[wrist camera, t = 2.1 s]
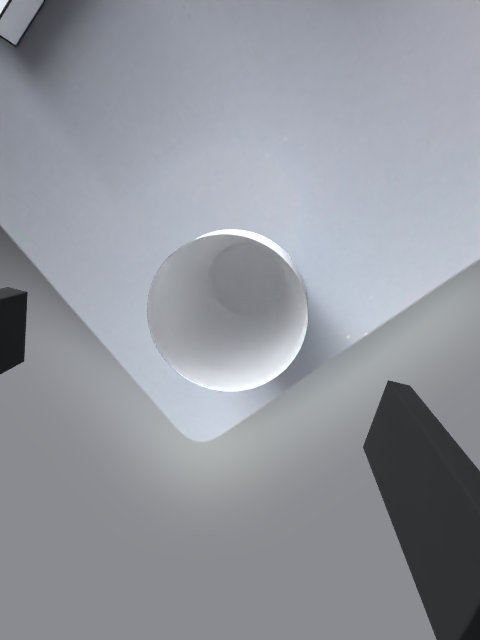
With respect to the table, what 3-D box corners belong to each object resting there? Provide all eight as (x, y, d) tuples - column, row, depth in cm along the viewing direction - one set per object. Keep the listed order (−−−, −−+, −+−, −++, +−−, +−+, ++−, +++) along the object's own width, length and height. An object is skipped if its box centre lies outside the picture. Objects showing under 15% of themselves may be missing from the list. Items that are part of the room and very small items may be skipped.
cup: (185, 316, 32) (132, 370, 20) (206, 215, 29) (159, 210, 18) (282, 343, 31) (284, 412, 20) (312, 242, 29) (334, 255, 17)
